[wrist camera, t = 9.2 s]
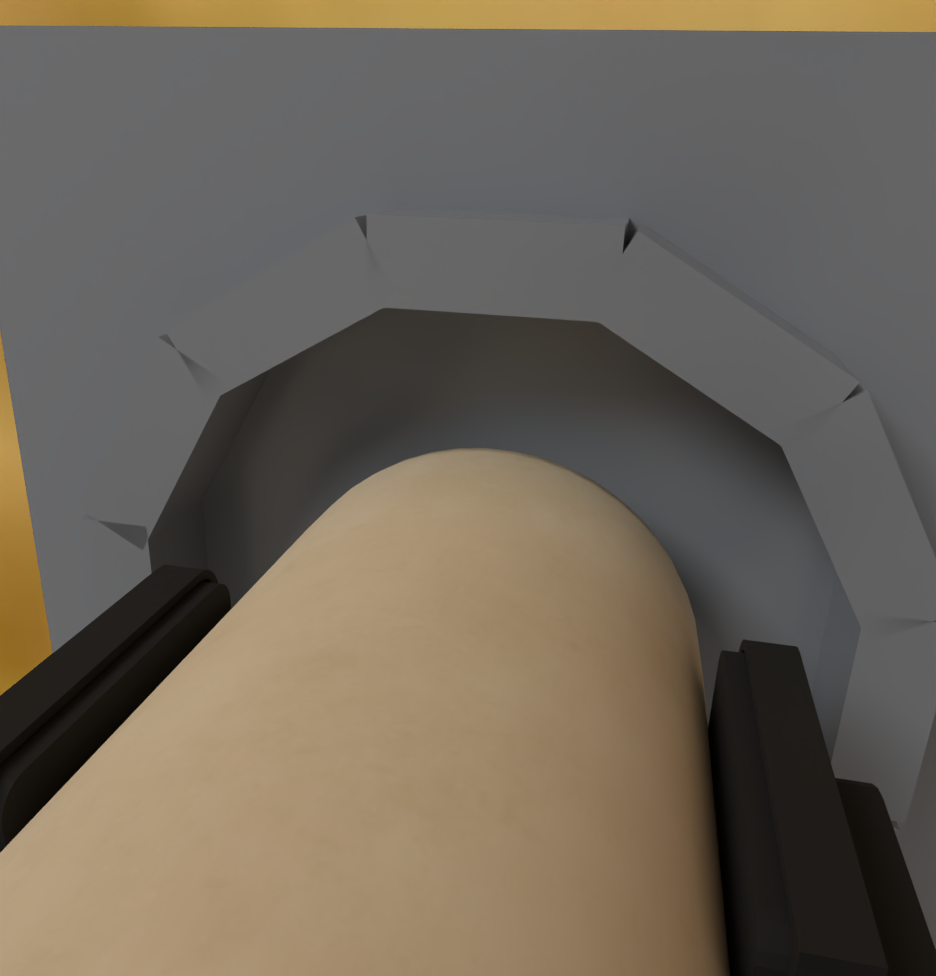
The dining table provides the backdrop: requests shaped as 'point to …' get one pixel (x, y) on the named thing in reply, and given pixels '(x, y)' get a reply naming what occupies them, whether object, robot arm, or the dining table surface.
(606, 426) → the candle dish
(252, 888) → the candle
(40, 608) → the dining table surface
